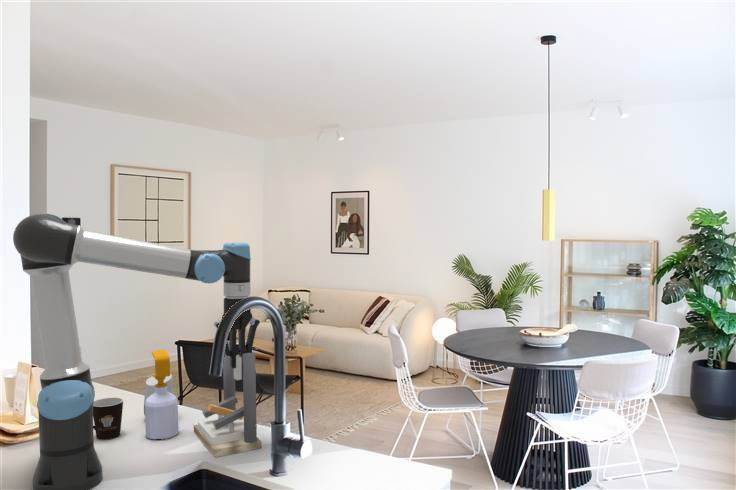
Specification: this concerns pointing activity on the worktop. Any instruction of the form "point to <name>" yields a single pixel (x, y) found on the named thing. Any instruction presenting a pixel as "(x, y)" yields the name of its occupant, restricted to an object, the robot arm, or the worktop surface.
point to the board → (226, 445)
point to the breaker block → (222, 431)
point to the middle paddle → (220, 410)
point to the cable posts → (248, 392)
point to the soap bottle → (161, 402)
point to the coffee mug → (107, 417)
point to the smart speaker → (151, 387)
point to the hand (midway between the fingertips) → (237, 378)
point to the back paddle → (224, 404)
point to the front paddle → (228, 418)
